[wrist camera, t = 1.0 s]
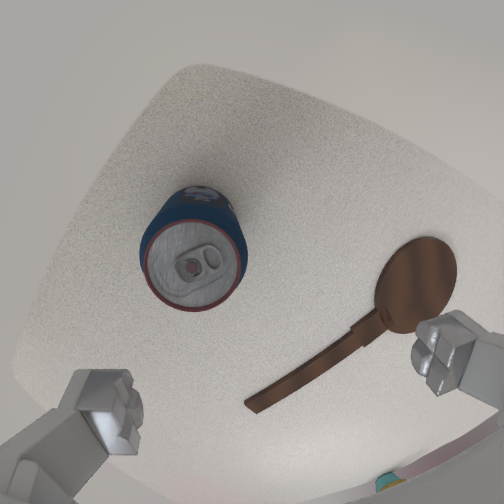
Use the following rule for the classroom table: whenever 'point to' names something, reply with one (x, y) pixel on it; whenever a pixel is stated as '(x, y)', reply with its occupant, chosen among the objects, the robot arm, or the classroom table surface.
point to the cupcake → (387, 481)
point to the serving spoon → (382, 311)
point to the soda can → (194, 250)
